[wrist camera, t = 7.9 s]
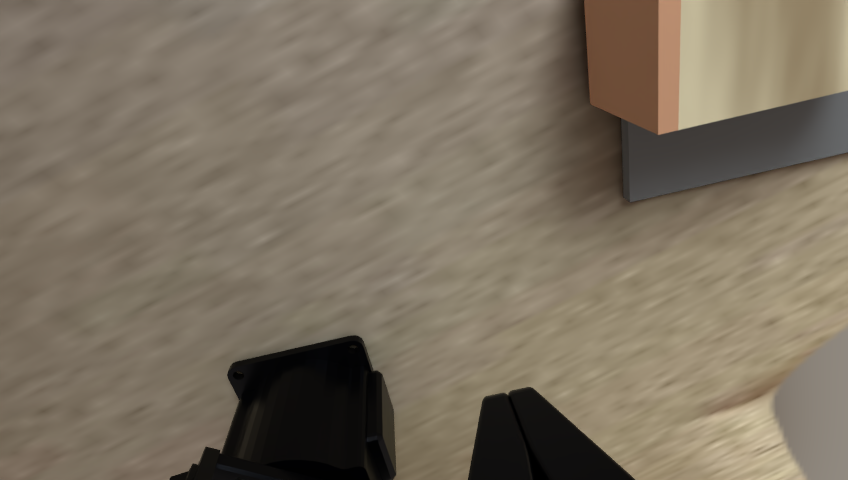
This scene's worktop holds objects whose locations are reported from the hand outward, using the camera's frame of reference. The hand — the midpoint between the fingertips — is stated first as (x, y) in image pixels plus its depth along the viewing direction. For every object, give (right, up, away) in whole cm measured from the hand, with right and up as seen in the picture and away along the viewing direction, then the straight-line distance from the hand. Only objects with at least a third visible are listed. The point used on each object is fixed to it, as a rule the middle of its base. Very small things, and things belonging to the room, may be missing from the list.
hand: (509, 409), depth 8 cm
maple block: (+5, +9, +7) cm, 13 cm away
